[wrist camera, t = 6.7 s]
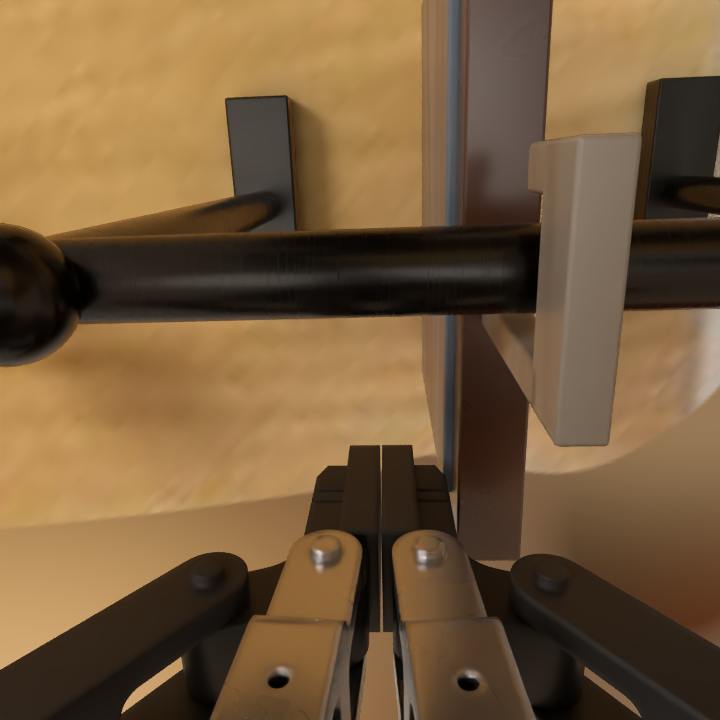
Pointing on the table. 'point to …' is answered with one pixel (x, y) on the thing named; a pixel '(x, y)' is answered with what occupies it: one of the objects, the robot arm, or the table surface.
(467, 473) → the hanging grey panel
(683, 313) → the table surface
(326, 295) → the valet rail
